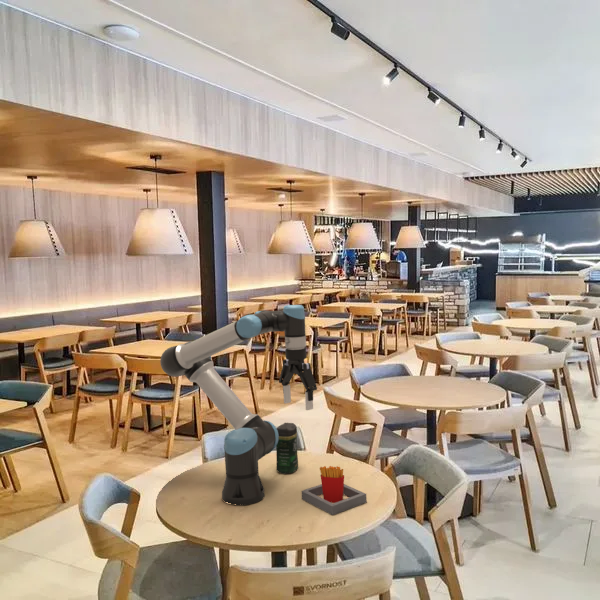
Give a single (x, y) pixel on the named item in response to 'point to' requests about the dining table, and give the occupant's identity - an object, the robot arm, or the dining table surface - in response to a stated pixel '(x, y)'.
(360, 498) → the gray square frame
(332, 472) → the french fries
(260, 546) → the dining table surface
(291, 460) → the coffee jar
